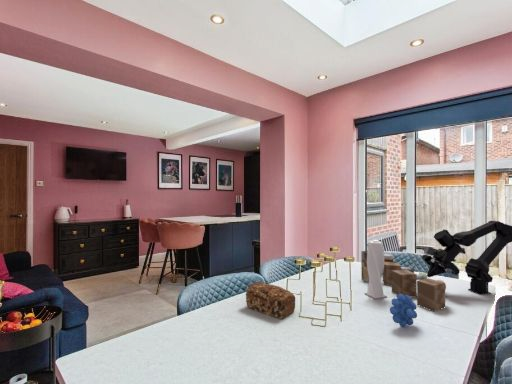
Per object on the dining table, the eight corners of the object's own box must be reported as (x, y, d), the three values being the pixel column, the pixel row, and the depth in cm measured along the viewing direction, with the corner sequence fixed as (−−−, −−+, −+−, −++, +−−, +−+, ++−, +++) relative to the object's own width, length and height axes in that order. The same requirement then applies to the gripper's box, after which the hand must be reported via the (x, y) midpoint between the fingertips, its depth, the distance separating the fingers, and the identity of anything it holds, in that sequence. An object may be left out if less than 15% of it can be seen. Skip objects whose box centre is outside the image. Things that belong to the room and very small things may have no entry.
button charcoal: (412, 273, 147) (412, 264, 147) (414, 275, 142) (414, 267, 142) (395, 272, 149) (395, 263, 149) (396, 274, 145) (396, 265, 145)
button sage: (420, 280, 135) (420, 270, 135) (427, 283, 130) (427, 273, 130) (404, 280, 134) (404, 271, 134) (410, 283, 130) (410, 274, 130)
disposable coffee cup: (397, 276, 160) (397, 256, 160) (380, 276, 160) (380, 256, 160) (389, 272, 169) (389, 252, 169) (373, 272, 169) (374, 252, 169)
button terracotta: (435, 288, 123) (435, 278, 123) (446, 292, 119) (446, 281, 119) (423, 291, 119) (423, 281, 119) (434, 295, 115) (434, 284, 115)
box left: (398, 282, 150) (398, 262, 150) (401, 286, 143) (401, 266, 143) (382, 280, 153) (382, 261, 153) (384, 284, 146) (384, 264, 146)
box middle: (407, 291, 136) (407, 270, 136) (416, 296, 129) (416, 274, 129) (391, 291, 135) (391, 270, 135) (400, 297, 128) (400, 274, 128)
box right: (428, 301, 122) (428, 278, 123) (445, 307, 116) (445, 282, 116) (417, 305, 119) (417, 280, 119) (433, 311, 113) (433, 285, 113)
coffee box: (381, 283, 148) (381, 253, 148) (372, 284, 146) (372, 254, 146) (370, 278, 157) (370, 250, 157) (360, 279, 155) (360, 250, 155)
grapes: (400, 335, 93) (400, 299, 94) (385, 325, 100) (385, 292, 100) (426, 330, 97) (426, 296, 97) (410, 321, 103) (410, 289, 103)
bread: (245, 308, 115) (245, 284, 116) (260, 300, 124) (260, 278, 124) (281, 321, 104) (281, 294, 104) (296, 312, 112) (296, 287, 112)
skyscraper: (389, 298, 126) (389, 237, 126) (376, 301, 123) (376, 238, 124) (375, 292, 134) (375, 235, 134) (362, 294, 131) (362, 235, 131)
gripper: (425, 238, 143) (404, 260, 142) (453, 245, 124) (430, 270, 123) (439, 253, 143) (419, 275, 142) (469, 262, 125) (446, 287, 124)
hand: (427, 276), depth 133 cm, fingers closed
